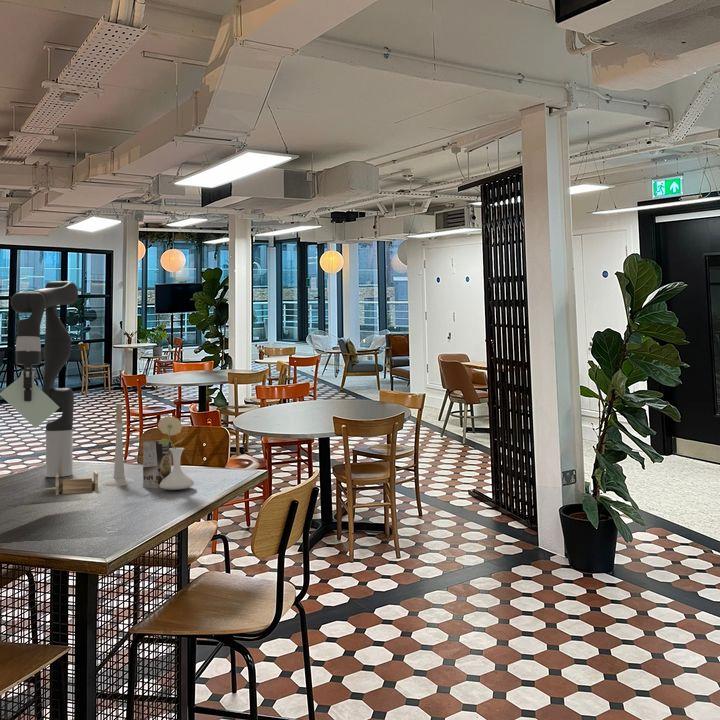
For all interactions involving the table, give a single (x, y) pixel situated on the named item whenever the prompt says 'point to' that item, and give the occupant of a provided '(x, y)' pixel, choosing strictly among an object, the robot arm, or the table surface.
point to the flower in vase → (174, 456)
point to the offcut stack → (76, 485)
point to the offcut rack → (94, 483)
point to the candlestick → (118, 454)
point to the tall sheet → (29, 402)
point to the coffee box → (155, 463)
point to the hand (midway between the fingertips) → (27, 401)
